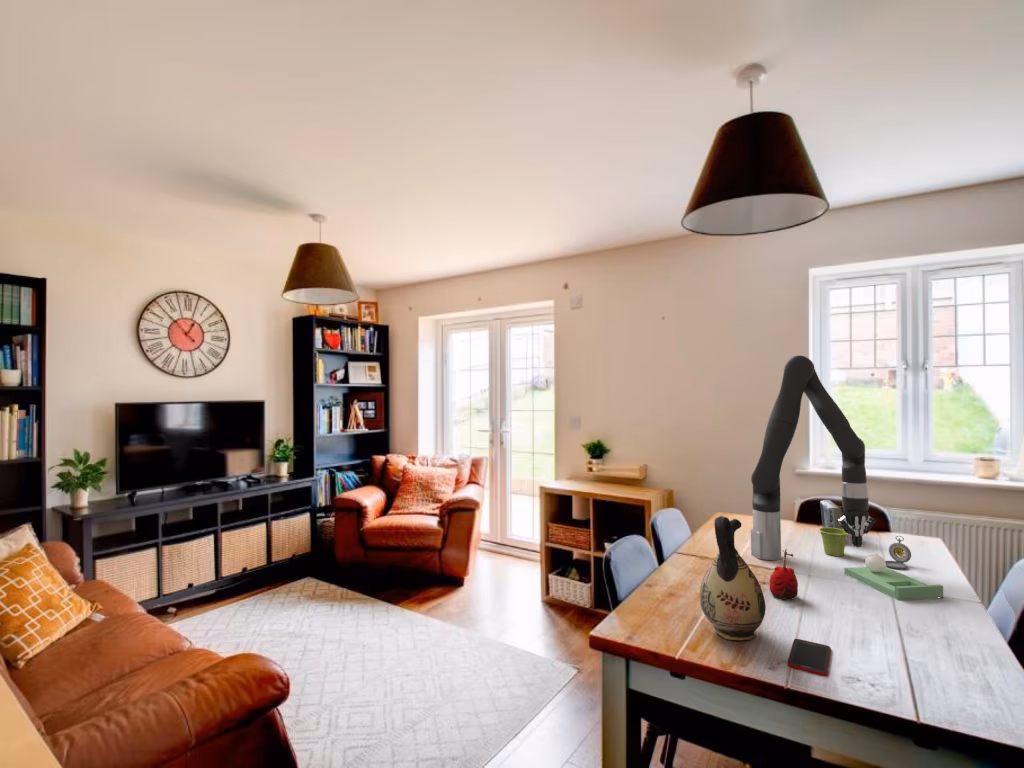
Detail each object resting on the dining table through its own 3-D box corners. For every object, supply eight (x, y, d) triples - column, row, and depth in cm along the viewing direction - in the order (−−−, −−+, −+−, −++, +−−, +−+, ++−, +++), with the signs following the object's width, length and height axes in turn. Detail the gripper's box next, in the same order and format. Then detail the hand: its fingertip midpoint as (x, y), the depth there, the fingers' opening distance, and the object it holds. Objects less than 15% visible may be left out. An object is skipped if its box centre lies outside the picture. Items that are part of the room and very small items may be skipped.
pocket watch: (884, 568, 178) (884, 538, 178) (880, 560, 185) (880, 532, 185) (914, 571, 174) (913, 541, 174) (909, 564, 181) (908, 535, 181)
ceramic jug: (711, 614, 143) (709, 505, 143) (772, 630, 133) (770, 513, 134) (688, 637, 130) (686, 517, 130) (754, 656, 120) (751, 527, 121)
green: (898, 600, 151) (898, 587, 151) (844, 573, 173) (844, 563, 173) (943, 597, 152) (943, 585, 152) (884, 572, 174) (883, 561, 174)
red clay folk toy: (795, 593, 157) (793, 543, 157) (801, 602, 150) (800, 550, 150) (767, 591, 159) (766, 542, 159) (772, 600, 152) (771, 548, 152)
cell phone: (831, 650, 123) (831, 646, 123) (827, 679, 111) (827, 674, 111) (794, 641, 128) (794, 637, 128) (786, 668, 116) (786, 664, 116)
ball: (874, 575, 165) (873, 557, 165) (861, 569, 171) (860, 552, 171) (890, 574, 166) (890, 557, 166) (877, 568, 171) (876, 551, 171)
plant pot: (855, 557, 189) (854, 534, 189) (828, 558, 189) (828, 534, 189) (839, 550, 198) (838, 527, 198) (814, 550, 198) (813, 527, 198)
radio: (820, 529, 228) (819, 495, 229) (843, 531, 224) (842, 496, 224) (821, 542, 208) (820, 505, 209) (846, 545, 204) (845, 507, 204)
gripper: (844, 498, 173) (846, 550, 172) (881, 496, 174) (884, 548, 173) (828, 494, 180) (831, 544, 180) (864, 492, 181) (867, 542, 181)
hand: (857, 546), depth 177 cm, fingers closed
